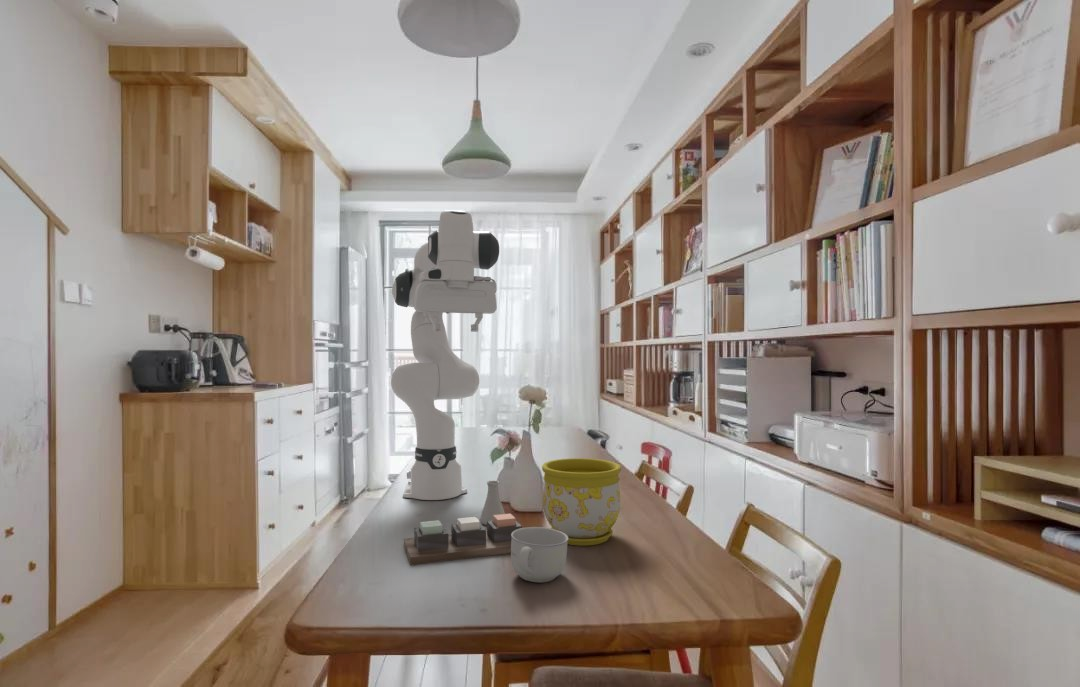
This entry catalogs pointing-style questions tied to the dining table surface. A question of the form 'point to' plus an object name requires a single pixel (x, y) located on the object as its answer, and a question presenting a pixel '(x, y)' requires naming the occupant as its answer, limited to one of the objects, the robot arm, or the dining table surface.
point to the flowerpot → (582, 498)
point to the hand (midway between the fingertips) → (455, 331)
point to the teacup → (538, 553)
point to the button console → (459, 543)
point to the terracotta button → (504, 520)
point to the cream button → (468, 524)
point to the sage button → (430, 527)
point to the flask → (491, 503)
